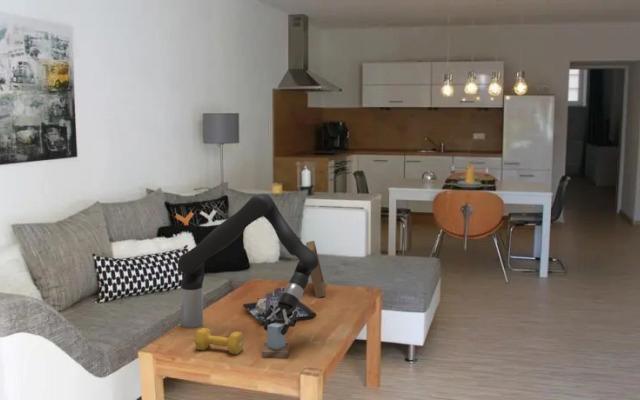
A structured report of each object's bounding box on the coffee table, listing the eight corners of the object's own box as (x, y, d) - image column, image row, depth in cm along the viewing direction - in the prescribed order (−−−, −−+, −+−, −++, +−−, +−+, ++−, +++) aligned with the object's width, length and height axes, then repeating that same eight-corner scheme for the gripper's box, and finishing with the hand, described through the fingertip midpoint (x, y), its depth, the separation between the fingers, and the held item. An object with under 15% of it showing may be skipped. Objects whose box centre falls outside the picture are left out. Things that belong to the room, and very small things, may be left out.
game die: (266, 323, 311) (269, 310, 304) (249, 315, 312) (252, 303, 305) (274, 309, 317) (277, 297, 310) (258, 302, 318) (261, 289, 311)
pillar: (267, 347, 264) (267, 325, 263) (275, 343, 268) (275, 322, 267) (277, 349, 261) (277, 327, 260) (285, 346, 265) (285, 324, 264)
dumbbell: (192, 351, 266) (192, 332, 264) (202, 344, 274) (202, 324, 273) (236, 357, 260) (236, 337, 259) (245, 349, 269) (245, 329, 268)
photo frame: (324, 285, 360) (324, 240, 357) (324, 297, 339) (324, 249, 335) (297, 285, 361) (297, 240, 357) (295, 297, 339) (294, 249, 335)
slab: (261, 359, 260) (261, 351, 260) (264, 349, 270) (264, 342, 270) (287, 359, 260) (287, 352, 260) (289, 350, 270) (289, 342, 270)
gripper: (273, 289, 272) (255, 323, 264) (301, 295, 264) (283, 331, 256) (281, 298, 277) (263, 332, 269) (309, 304, 269) (292, 340, 261)
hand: (273, 331), depth 263 cm, fingers open, 8 cm apart
